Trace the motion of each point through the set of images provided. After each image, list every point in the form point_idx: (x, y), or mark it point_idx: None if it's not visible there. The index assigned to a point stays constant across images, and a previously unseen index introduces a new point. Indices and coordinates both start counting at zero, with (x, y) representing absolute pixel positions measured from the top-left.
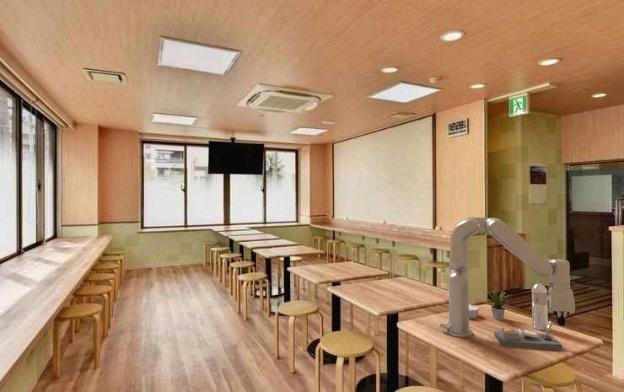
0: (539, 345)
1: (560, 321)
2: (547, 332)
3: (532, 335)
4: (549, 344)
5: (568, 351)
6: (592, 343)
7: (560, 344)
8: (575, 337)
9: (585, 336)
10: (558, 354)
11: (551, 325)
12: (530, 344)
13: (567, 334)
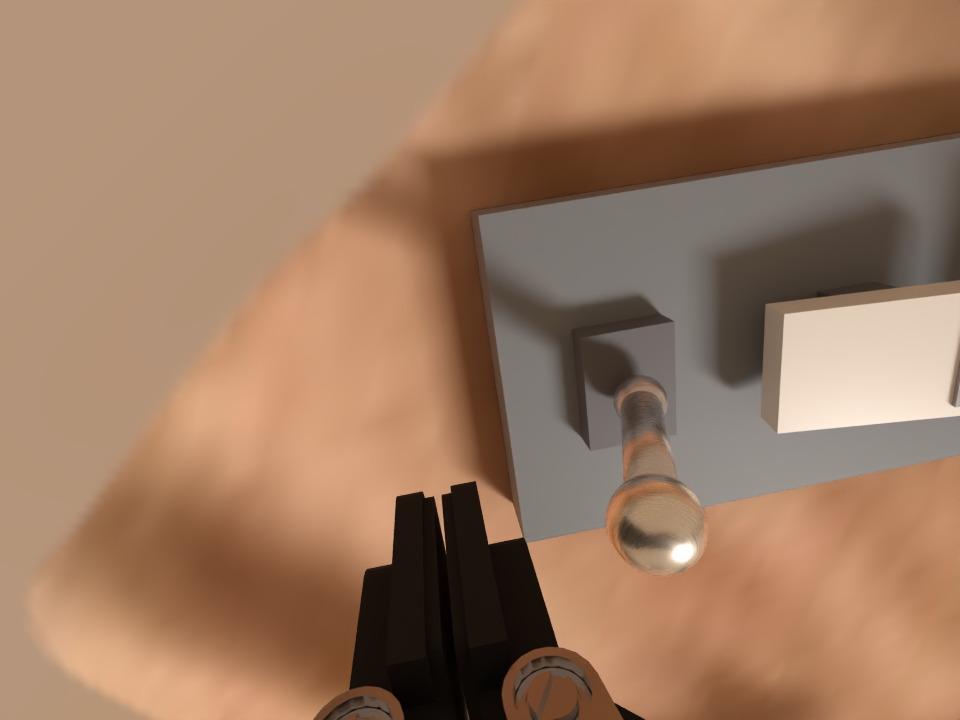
0: (751, 169)
1: (489, 553)
2: (647, 402)
3: (849, 301)
4: (639, 188)
5: (402, 192)
6: (79, 538)
7: (497, 214)
8: (236, 638)
9: (129, 696)
10: (555, 38)
11: (639, 476)
12: (863, 152)
13: (302, 684)
